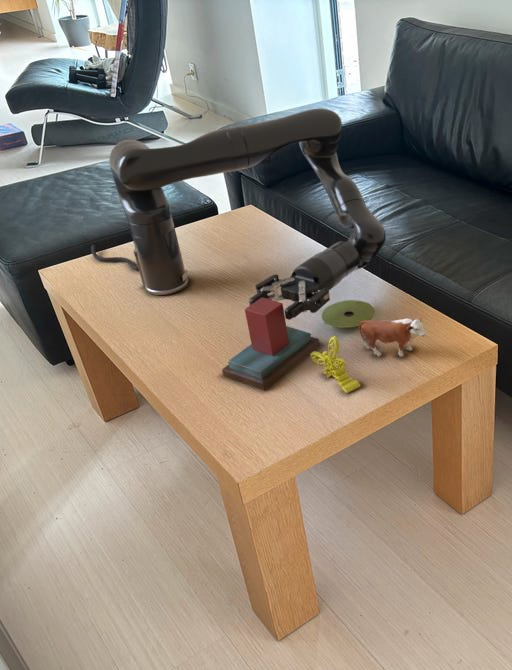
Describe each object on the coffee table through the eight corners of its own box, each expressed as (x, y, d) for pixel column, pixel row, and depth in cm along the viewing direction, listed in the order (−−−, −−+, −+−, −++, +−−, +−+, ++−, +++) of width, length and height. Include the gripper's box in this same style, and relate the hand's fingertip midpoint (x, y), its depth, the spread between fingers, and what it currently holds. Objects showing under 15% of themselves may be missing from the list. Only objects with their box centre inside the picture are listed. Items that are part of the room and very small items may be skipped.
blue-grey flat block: (223, 376, 139) (220, 362, 137) (280, 333, 151) (278, 320, 150) (264, 390, 135) (261, 376, 133) (319, 345, 147) (317, 331, 145)
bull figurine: (426, 362, 141) (424, 326, 136) (358, 356, 143) (355, 320, 139) (430, 349, 145) (429, 314, 140) (365, 343, 147) (361, 308, 142)
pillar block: (252, 349, 141) (244, 309, 136) (269, 337, 144) (261, 297, 139) (272, 356, 139) (265, 315, 134) (289, 343, 142) (282, 303, 137)
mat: (347, 341, 148) (346, 333, 147) (311, 322, 154) (310, 314, 153) (387, 319, 155) (386, 311, 154) (351, 302, 161) (350, 294, 160)
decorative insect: (330, 402, 140) (306, 355, 140) (344, 395, 142) (320, 348, 142) (356, 387, 129) (330, 337, 129) (371, 380, 131) (345, 330, 131)
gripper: (350, 297, 149) (301, 336, 137) (295, 283, 155) (243, 318, 143) (347, 264, 145) (295, 301, 133) (290, 250, 151) (236, 284, 139)
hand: (268, 310), depth 138 cm, fingers open, 8 cm apart
